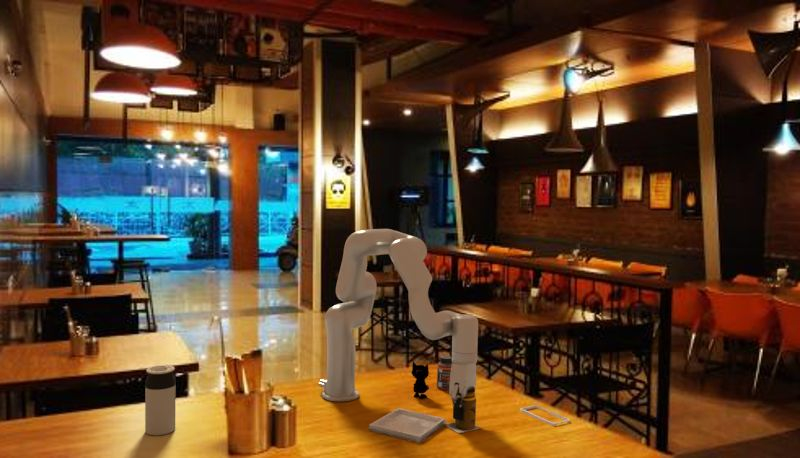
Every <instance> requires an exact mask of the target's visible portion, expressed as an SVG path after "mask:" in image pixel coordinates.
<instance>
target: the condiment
mask: <svg viewBox="0 0 800 458" xmlns="http://www.w3.org/2000/svg"><path fill="white" fill-rule="evenodd" d="M458 396H461V394H458ZM457 399H458V400H459V401H460V400H461V398H457ZM463 407H464V419H463V420H462V421H461V420H457V419H454V422H450V423H446V424H445V425H444V426H445V427H447V428H448V429H450V430H452V431H454V432H456V433H457V434H462V433H466V432H470V431H475V430H476V431H477V430H479V429H481V428H482V427H481V426H478V425H476V418H477V417H476V416H477V415H476V413H477V412H476V411H477V397H476V388H474V387H472V388H471V389H469V390H468V391H467V396H466V397H464V401H463Z"/></svg>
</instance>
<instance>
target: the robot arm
mask: <svg viewBox="0 0 800 458" xmlns="http://www.w3.org/2000/svg"><path fill="white" fill-rule="evenodd" d="M427 254H428V249H427V246H426V243H425V242H424V241H423V240H422V239H421V238H419V237H416V236H414V235H410V234H407V233H403V232H400V231H398V230H393V229H390V228H373V229H362V230H358V231H355V232H353V233H351V234H350V235H349V236H348V237H347V239H346V241H345V244H344V247H343V255H342V260H341V263H340V264H341V265H340V269H339V273H338V277H337V281H336V286H335V295H336V297H337V299H338V300H340V301H342V303H337V304H334V305H333V306H331V307H329V308H328V309H327V311H326V313H325V315H324V324H325V330H326V331H325V332H326V346H327V347H326V348H327V349H326V350H327V351H326V354H327V355H326V360H327V361H326V379H323V378H321V379H320V380H319V382H318V383H317V386H318V387H321V388H323V391H321V397H322V398H323V399H324V400H326V401H330V402H340V403H341V402H351V401H354V400H356V399H357V398H359V397H360V391H359V390H357V389H356V388H355V385H356V383H355V382H356V377H355V376H356V374H355V373H356V340H355V337H354V334H353V330H356V329H359V328H361V327H364V326H366V324H368V322H369V320H370V318H371V315H372V311H373V307H374V303H375V298H376V294H377V291H378V289H377V288H378V286H377V281H376V278H375V276H374V275H373V274H372V273H370V272H369V271H367V269H368V268H367V267H368V257H367V256H380V255H389V257H390V258H389V259H391V262H392V263H393V265H394V268H395V269H396V271H397V272H398V275H399V276H400V278H401V280H402V282H403V283H404V285H405V287H406V289H407V291H408V294H407V295H408V305H409V311H410V314H411V317H412V319H413V321H414V322H415V324H416V326H417V328H418V329H419V330H420V332H421V334H422V335H423V336H424V337H425V338H427V339H428V340H432V341H437V340H440V339H442V338H444V337H449V336H452V337H451V339H452V341H451V357H452V361H451V362H452V367H451V373H450V385H449V390H448V394H449V396H450V399H451V402H452V418H453V419H454V420H455V419H457V420H461V421H462V420H463V419H464V407H463V401H464V397H466V396H467V391H468V390H469V389H471V388H472V387H474V388H475V389H476V387H477V365H476V364H477V363H478V344H479V341H478V339H479V338H478V337H479V336H478V335H479V320H478V318H477V316H475V315H472V314H468V313H467V314H461V313H458V312H454V311H452V310H442V311H438V312H436V311H435V309H434V308H433V306H432V304H431V302H430V299H429V288H430V287H431V283H432V281H433V276H432V274H431V273H430V271H429V269H428V267H427V266H426V264H425V262H424V261H425V259H426V257H427ZM458 394H461V396H458ZM457 398H461V400H460V401H459V400H458V399H457Z"/></svg>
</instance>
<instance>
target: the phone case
mask: <svg viewBox="0 0 800 458" xmlns="http://www.w3.org/2000/svg"><path fill="white" fill-rule="evenodd" d="M532 409H539V410H541V409H542V410H544V411H546V412H548V414H550V415H552V416H553V417H556V418H560V419H562V420H561V421H558V422H553V421H550V420H547V419H546V418H543V417H542V416H539V415H536V414H534V413H532V412H531V411H528V410H532ZM519 410H520V413H523V414H525V415H528V416H530V417H532V418H534V419H537V420H539V421H541V422H543V423H545V424H547V425H550V426H551V427H557V426H558V425H559V424H563V423H567V424H568V423H569V424H570V423H571V422H570V421H571V420H570V418H568V417H565V416H563V415H561V414H558V413H556V412H554V411H551V410H549V409H547V408H544V407H543V406H539V405H537V404H534V405H529V406H525V407H520V409H519Z"/></svg>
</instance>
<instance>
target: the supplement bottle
mask: <svg viewBox="0 0 800 458" xmlns="http://www.w3.org/2000/svg"><path fill="white" fill-rule="evenodd" d="M452 363H453V362H452V356H449V355H440V361H438V363H437V370H436V371H437V373H436V387H437V389H438V390H442V391H449V385H450V373H451V367H452Z"/></svg>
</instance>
